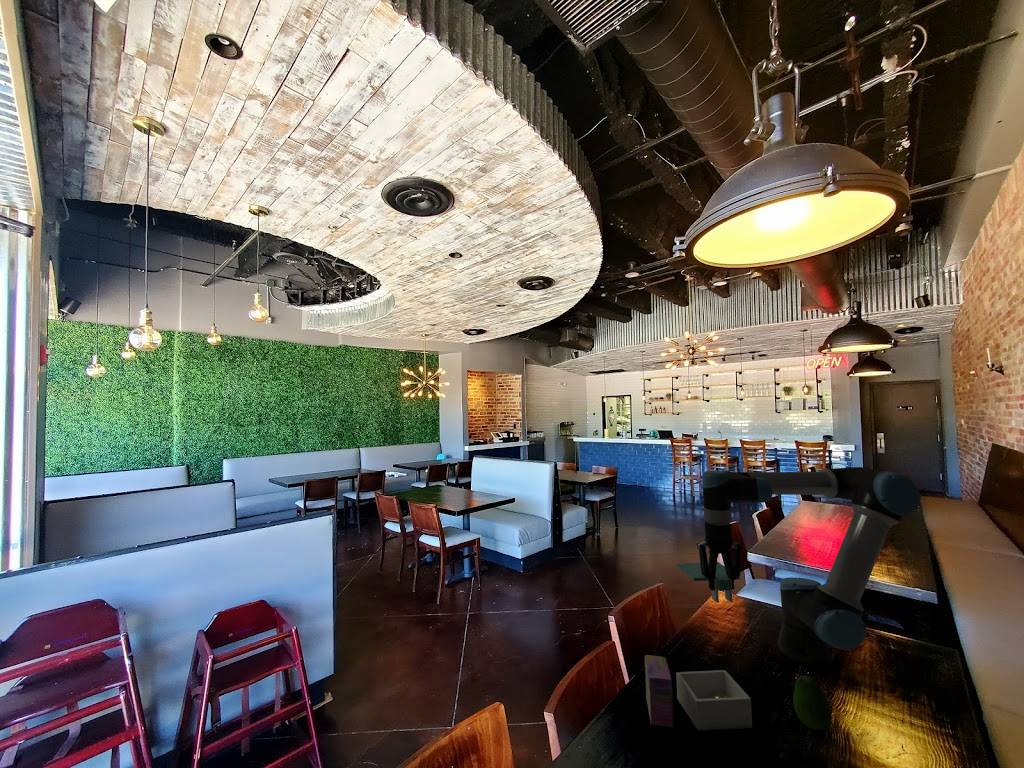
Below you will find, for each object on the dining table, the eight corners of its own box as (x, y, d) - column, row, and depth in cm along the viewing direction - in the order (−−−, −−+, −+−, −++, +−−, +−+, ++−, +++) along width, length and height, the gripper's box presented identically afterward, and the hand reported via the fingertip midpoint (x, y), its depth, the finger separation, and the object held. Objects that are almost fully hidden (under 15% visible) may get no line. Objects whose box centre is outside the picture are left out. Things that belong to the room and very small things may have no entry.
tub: (726, 696, 118) (725, 670, 118) (752, 728, 106) (750, 698, 106) (677, 698, 117) (676, 672, 118) (697, 730, 105) (696, 701, 106)
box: (674, 728, 106) (672, 679, 107) (650, 725, 107) (648, 677, 108) (667, 700, 116) (665, 656, 117) (646, 698, 118) (644, 654, 119)
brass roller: (725, 694, 115) (729, 692, 113) (729, 708, 113) (733, 706, 110) (710, 695, 115) (714, 693, 112) (715, 709, 112) (719, 707, 110)
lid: (718, 568, 144) (718, 559, 144) (749, 589, 127) (748, 579, 127) (676, 569, 144) (676, 560, 144) (701, 591, 126) (701, 580, 126)
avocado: (790, 713, 110) (787, 666, 111) (826, 720, 108) (822, 671, 109) (800, 735, 103) (796, 684, 104) (838, 743, 100) (834, 690, 101)
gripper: (737, 518, 134) (741, 594, 133) (686, 519, 134) (689, 596, 132) (751, 524, 127) (756, 604, 125) (697, 526, 126) (701, 607, 124)
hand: (722, 600), depth 129 cm, fingers closed on lid, 3 cm apart
